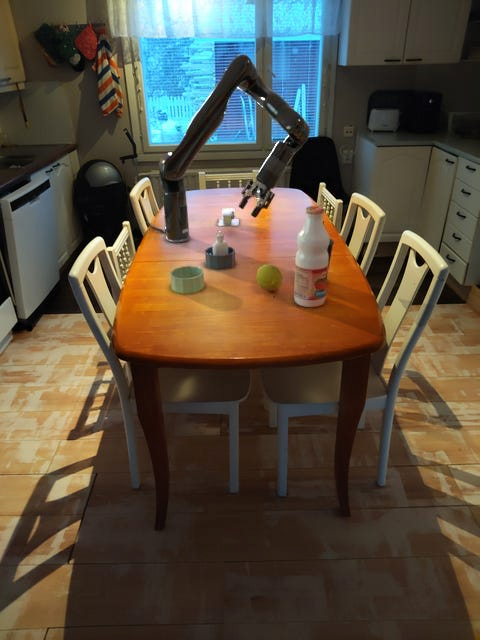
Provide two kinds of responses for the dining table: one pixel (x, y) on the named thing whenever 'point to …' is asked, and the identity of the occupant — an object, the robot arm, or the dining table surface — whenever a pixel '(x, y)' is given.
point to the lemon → (269, 277)
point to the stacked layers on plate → (228, 218)
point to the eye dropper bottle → (220, 246)
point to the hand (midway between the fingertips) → (246, 212)
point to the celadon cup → (187, 279)
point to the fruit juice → (312, 260)
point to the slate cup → (220, 259)
